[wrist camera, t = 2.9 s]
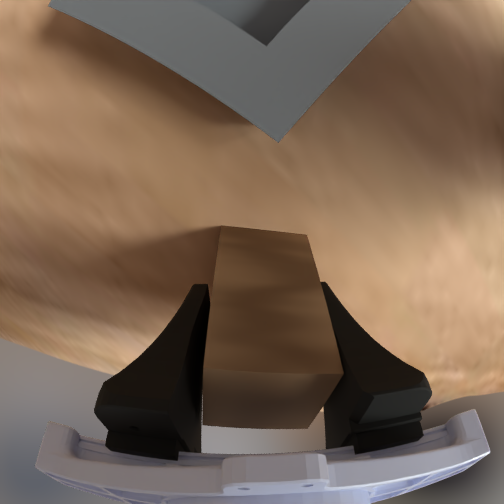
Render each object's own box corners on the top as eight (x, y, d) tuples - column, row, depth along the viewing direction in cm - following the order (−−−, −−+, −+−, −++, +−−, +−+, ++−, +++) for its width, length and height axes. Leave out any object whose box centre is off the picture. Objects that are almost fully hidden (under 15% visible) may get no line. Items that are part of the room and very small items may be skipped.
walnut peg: (306, 235, 15) (343, 373, 9) (289, 298, 18) (307, 428, 11) (220, 225, 15) (203, 367, 8) (215, 291, 17) (202, 425, 11)
